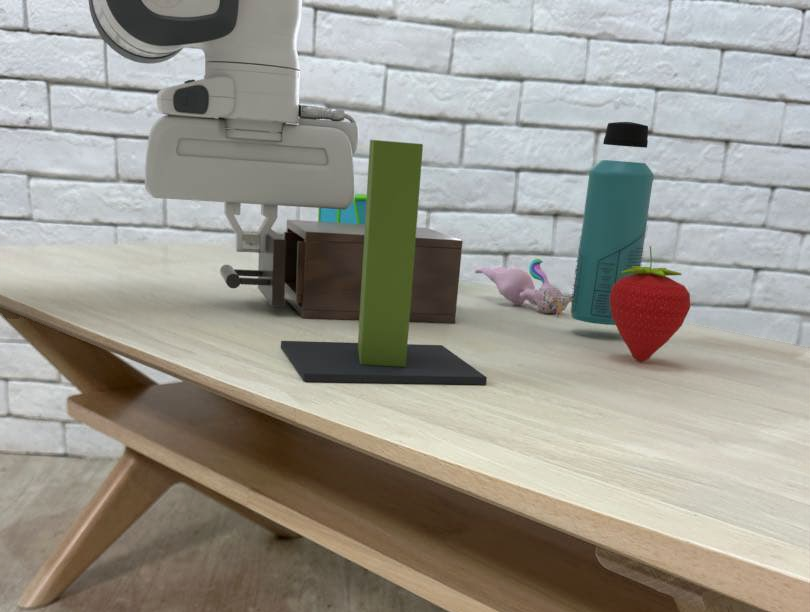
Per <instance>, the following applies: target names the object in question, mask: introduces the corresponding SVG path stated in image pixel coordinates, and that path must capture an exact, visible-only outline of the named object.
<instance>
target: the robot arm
mask: <svg viewBox="0 0 810 612" xmlns="http://www.w3.org/2000/svg"><path fill="white" fill-rule="evenodd" d="M88 7H89V12H90V16H91V20H92V22H93V24H94V27H95V29H96V31H97V32H98V34H99V35H100V37H101V39H102V40H103V41H104V42H105V43H106V44H107V46H109V48H111V49H112V51H114V52H116V53H117V54H118V55H120V56H121V57H123V58H125V59H127V60H130V61H132V62H136V63H140V64H145V65H146V64H147V65H148V64H149V65H150V64H161V63H163V62H165V61H168V60H170V59H172V58H174V57H176V55H178V54H179V53H180V52H182V51H183V49H185V48H187V47H188V48H198V49H200V50H201V51H202V52H203V54H204V75H203V78H201V79H197V80H195V79H194V78H193V79H188V80H185V81H184V83H180V84H176V85H172V86H168V87H165V88H162V89H160V90H159V91H158V93H157V95H156V106H157V109H158V111H159V112H160V113H161V114H163V116H161V117H159V118H157V119H156V120H155V122H154V123H153V124H152V126H151V128H150V131H149V133H148V140H147V145H146V154H145V165H144V189H145V191H146V192H147V193H148V194H149V195H150V196H151V197H152V198H154V199H164V200H180V201H195V202H196V201H198V202H212V203H213V202H214V203H223V214H224V215H225V218H226V220H227V222H228V223H229V225H230V227H231V228H232V230H233V232H234V245H235V246H234V248H235V252H236V253H254V254H255V253H256V254H259V253H265V247H266V235H267V234H268V232H269V231H270V229H272V227H273V226H274V225H275V223H276V221H277V219H278V213H279V212H278V210H279V208H278V207H279V206H280V207H281V206H282V207H295V208H296V207H298V208H299V207H300V208H312V209H313V208H314V209H315V208H316V209H319V208H329V209H347V208H348V207H349V206H350V205H351V204H352V202H353V201H354V197H355V194H356V186H355V185H356V182H355V181H356V180H355V166H354V156H355V154H356V153H357V151H358V147H359V133H360V131H359V126H358V123H357V121H356V120H355V119H354V117H353V116H351V115H350V114H348V113H346V112H345V110H344V109H342V108H337V107H336V108H335V107H331V108H324V107H319V106H316V105H315V106H314V105H305V104H303V105H302V104H300V91H301V88H300V87H301V64H300V63H301V62H300V58H299V54H298V35H299V31H300V28H301V24H302V19H303V0H88ZM345 119H346V120H348V121H345ZM241 204H246V205H247V204H249V205H250V204H251V205H260V214H261V216H262V217H264V219H263V221H262V222H261V225H260V227H259V228H258V230H257V232H249V231H248V232H247V231H243V229H242V228H241V225H240V223H239V221H238V220H237V217H236V216H240V215H241V207H242V206H241Z"/></svg>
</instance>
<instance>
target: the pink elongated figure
mask: <svg viewBox="0 0 810 612" xmlns="http://www.w3.org/2000/svg"><path fill="white" fill-rule="evenodd" d="M542 263H543V260H542V259H540V258H534V259H533V260H532V261H531V262H530V264H529V266H528V267H529V268H528V270H529V271H528V272H529V274H528V272H526V271H525V270H523V269H522V268H517V267H512V268H507V267H501V266H500V267H499V266H498V267H492V268H490V267H479V268H477V269H476V270H474V273H475V274H483V275H485V276H486V277H487V278H488V279H489V280H490V281H491V282H492V283H494V284H495V285H496V288H497V290H498V293H499V294H500V295H501V296H503V298H505V299H506V300H508V301H509V302H510V301H511V304H512V305H514V306H521V305H523V303H525V301H528V303H530V304H531V305H533V306H537V308H538V309H539V310H540V312H541V313H543V314H551V313H553V312H554V313H555V314H556V315H557V317H559V313H561V314H563V312H564V311H566V309H567V307H568V305H569V304H571V303H572V300H573V298H572V297H571V296H572V295H571V296H564V294H563V293H562V291H561V290H560V289H559V288H557V287H556V286H553V285H552V284H551V283H550V282H549V280H548V277H547V274H546V273H545V271H544V270H543V269H542V267H541V264H542ZM532 278H533V279H535V280H537V281H540V282H541V283H542V284H541V286H540V287H539V288H538V289H536V287H535V283H534V281H533V279H532ZM571 299H572V300H571Z"/></svg>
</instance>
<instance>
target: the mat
mask: <svg viewBox="0 0 810 612" xmlns="http://www.w3.org/2000/svg"><path fill="white" fill-rule="evenodd" d="M280 349H281V350H282V352H283V353H284V354H285V356H286V358H287V359H288V360H289V362H290V364H291V365H292V366H293V368H294V369H295V370H296V372H297V373H298V375H299V377H300V378H301V379H302V380H303V382H306V383H307V382H308V383H309V382H312V383H317V382H318V383H361V384H362V383H364V384H365V383H367V384H368V383H370V384H372V383H373V384H425V385H426V384H428V385H478V386H479V385H481V386H482V385H483V386H485V385H487V380H488V377H487V376H486V375H484V374H483V373H482V372H480V371H479V370H477V368H475V367H473V366H472V365H471V364H469V363H468V362H467V361H465V360H464V359H462V358H461V357H459V356H458V355H457V354H455V353H454V352H452V351H451V350H449V349H448V348H447V347H445V346H444V345H442V344H417V343H416V344H413V343H410V344H409V343H408V344H407V357H406V367H390V366H374V365H361V364H360V359H359V353H358V342H341V341H340V342H339V341H309V340H308V341H304V340H281V341H280Z"/></svg>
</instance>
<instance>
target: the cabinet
mask: <svg viewBox="0 0 810 612" xmlns="http://www.w3.org/2000/svg"><path fill="white" fill-rule="evenodd" d="M285 232H295V233H296V234H298V235H299V236H301V237H302V238H304V239H305V240H304V264H303V291H302V303H296V302H295V301H294V300H293V299H292V297H291V296H290V295H289V294H288V293H287V292H286V291H285V294H284V300H286V301H287V302H288V303H289V304H290V305H291V306H292V308H293V309H294V310H295V311H296V312H297V313H298V314H299V316H300V317H301V318H302V319H319V320H320V319H325V320H353V321H354V320H355V321H359V317H360V300H361V283H362V267H363V250H364V233H365V224H351V223H335V222H318V220H317V221H315V220H302V219H301V220H300V219H286V231H285ZM463 242H464V241H463V240H462V239H459V238H456V237H454V236H451V235H448V234H445V233H443V232H440V231H437V230H435V229H431V228H429V227H418V226H417V228H416V241H415V254H414V267H413V280H412V292H411V305H410V318H409V323H410V322H411V323H416V322H417V323H438V324H442V323H443V324H455V323H456V316H457V307H458V306H457V304H458V295H459V283H460V273H461V272H460V271H461V263H462V252H463Z"/></svg>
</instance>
